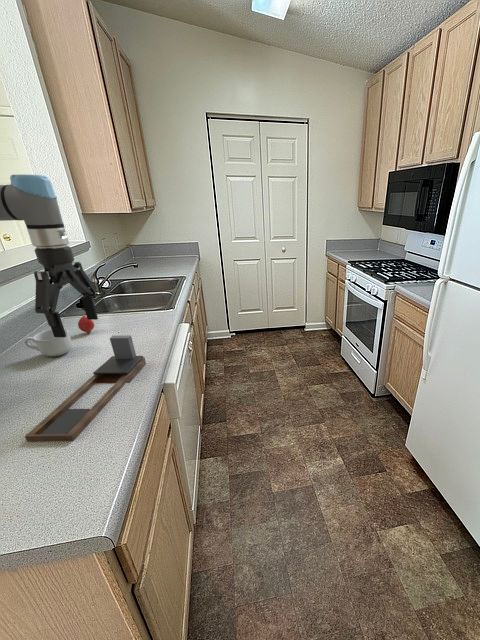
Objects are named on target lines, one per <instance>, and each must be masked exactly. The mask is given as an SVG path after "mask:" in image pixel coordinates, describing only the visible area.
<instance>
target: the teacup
mask: <svg viewBox="0 0 480 640" xmlns="http://www.w3.org/2000/svg"><path fill="white" fill-rule="evenodd" d="M64 330H65V333H66V337H54V335H53V332H52V329H51V328H50V329H45V330H43V331H41V332H40V331H39V332H38V333H36V334H35V335H34V336H27V337H26V338H25V339H24V344H25V346H26V347H28V348H30V349H32V350H36V351H38V352H39V353H40V354H42V355H44V356H47V357H51V358H54V357H55V358H56V357H60V356H63V355H66V354H67V353H68V352H69V351H70V350H71V348H72V346H73V343H72V339H71V336H70V334H69V333H70V332H69V330H68V329H66V328H64ZM30 340H31V341H32V342H34V344H35V345H33V344H31V343H29V341H30Z"/></svg>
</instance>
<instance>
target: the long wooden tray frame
mask: <svg viewBox="0 0 480 640" xmlns="http://www.w3.org/2000/svg"><path fill="white" fill-rule="evenodd" d="M146 365H147V362H146V357H145V356H143V358H142V359H141V360H140V361H139V362H138V363H137V364H136V365H135V366H134V368H133V369H132V370H131V371H130V372H129V373H128V374H94V373H93V375H92V376H90V378H88V379H87V381H85V382H83V384H82V385H80V386H79V388H77V389H76V390H75V391H74V392H73V393H72V394H71V395H69V396H68V397H67V398H66V399H65V400H64V401H63V402H61V403H60V404H58V406H57V407H55V409H53V410H52V412H50V413H49V414H48V415H47V416H46V417H45V418H44V419H42V420H41V421H40V422H39V423H38V424H37V425H35V427H33V428H32V429H31V430H30V431H29V432H28V433H27V434H26V435H24V438H25V441H26V442H29V443H30V442H32V443H33V442H36V443H37V442H74V441H75V440H76V439H77V438H78V437H79V436H80V435H81V433H82V432H84V430H85V429H86V428H87V427H88V426H89V424H90V423H91V422H92V421H94V419H95V418H96V417H97V416H98V415H99V414H100V413H101V411H102V410H103V409H104V408H105V407H106V406H107V405H108V403H110V401H111V400H112V399H113V398H114V397H115V396H116V395H117V394H118V393H119V392H120V391H121V389H122V388H123V387H124V386H125V385H126V384H130V383H131V382H132V380H133V379H134V378H136V376H138V374H139V373H140V372H141V370H142V369H144V367H145V366H146ZM95 384H113V385H112V386H111V387H110V388H109V389H108V390H107V391H106V392H105V393H104V394H103V396H101V398H99V399H98V401H97V402H96V403H95V404H94V405H93V406H92V407H91V408H89V409H90V410H89V411H88V412H87V413H86V414H85V415H84V416H83V417H82V419H81V420H80V421H79V422H78V423H77V424H76V425H75V426H74V427H73V428H72V429H71V430H70V431H69V432H68V433H67V434H41V433H43V432H44V431H45V430H46V429H47V428H48V427H49V426H50V425H51V424H52V423H53V422H54V421H55V420H56V419H57V418H59V417H60V416H61V415H62V414H63V413H64V412H65V411H66V410H67V409H71V408H72V406H73V405H75V403H76V402H77V401H78V400H80V399H81V398H82V397H83V396H84V395H85V394H86V393H87V392H88V391H89V390H90V389H92V387H94V386H95Z"/></svg>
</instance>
